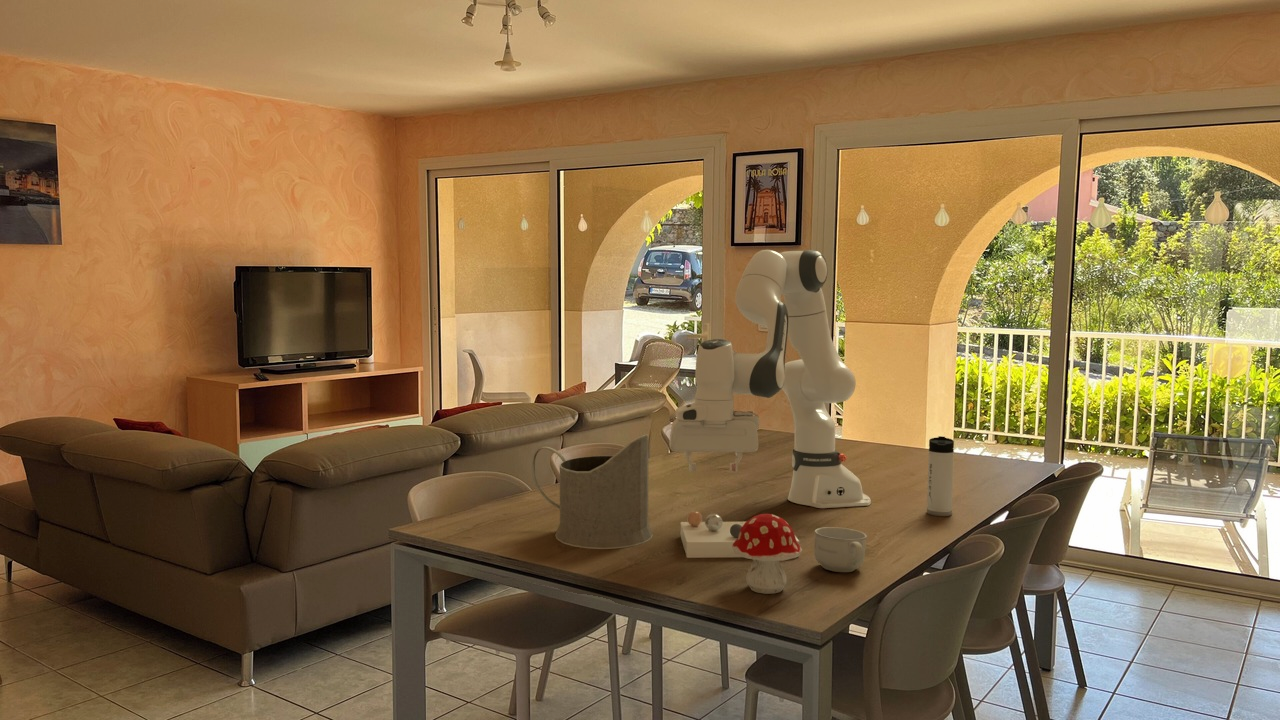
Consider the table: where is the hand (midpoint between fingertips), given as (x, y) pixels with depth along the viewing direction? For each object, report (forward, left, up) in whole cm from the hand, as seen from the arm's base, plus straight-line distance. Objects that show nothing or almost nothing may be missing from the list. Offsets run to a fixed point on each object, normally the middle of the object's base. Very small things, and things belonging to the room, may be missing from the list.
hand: (713, 470), depth 211 cm
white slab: (-6, +1, -18) cm, 18 cm away
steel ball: (0, 0, -12) cm, 12 cm away
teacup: (-25, +19, -18) cm, 36 cm away
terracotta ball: (+4, -4, -12) cm, 13 cm away
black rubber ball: (-5, +6, -13) cm, 15 cm away
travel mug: (-63, -28, -18) cm, 71 cm away
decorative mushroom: (-7, +30, -18) cm, 36 cm away
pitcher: (+29, -12, -18) cm, 36 cm away
